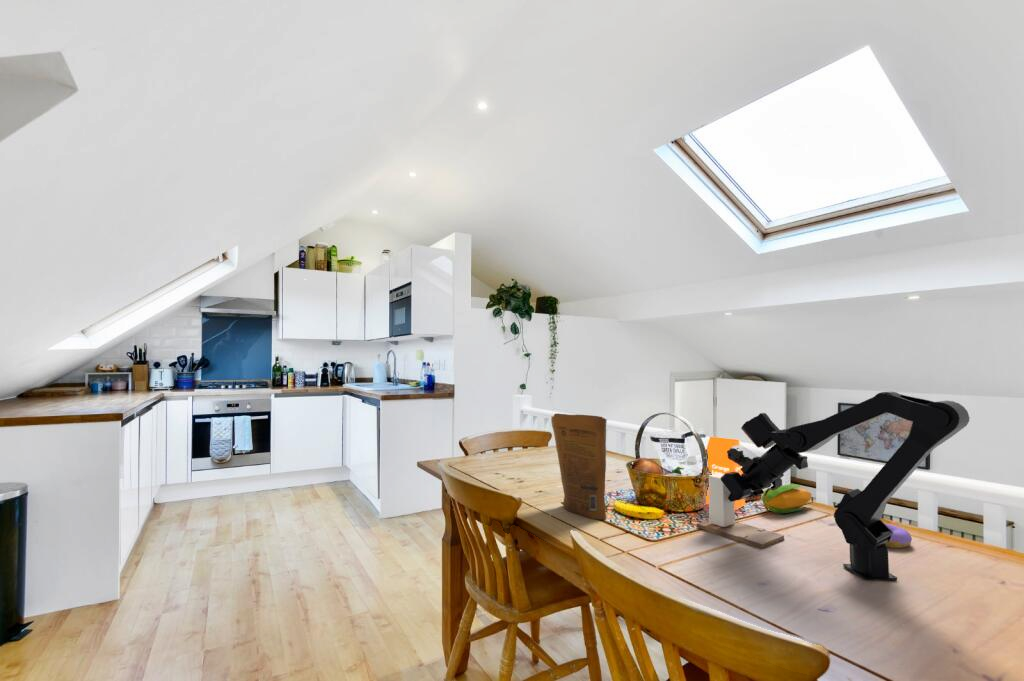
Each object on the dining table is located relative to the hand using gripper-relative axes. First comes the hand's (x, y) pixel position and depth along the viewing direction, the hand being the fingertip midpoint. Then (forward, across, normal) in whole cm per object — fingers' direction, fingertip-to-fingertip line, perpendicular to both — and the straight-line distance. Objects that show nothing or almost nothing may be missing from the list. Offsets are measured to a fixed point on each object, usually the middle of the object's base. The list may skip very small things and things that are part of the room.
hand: (729, 499), depth 121 cm
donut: (-12, -24, +23) cm, 35 cm away
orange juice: (+15, -19, -4) cm, 24 cm away
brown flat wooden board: (+4, 0, +7) cm, 8 cm away
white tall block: (+6, 0, +3) cm, 7 cm away
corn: (+6, -30, +6) cm, 31 cm away
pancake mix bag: (+28, +22, -17) cm, 39 cm away
